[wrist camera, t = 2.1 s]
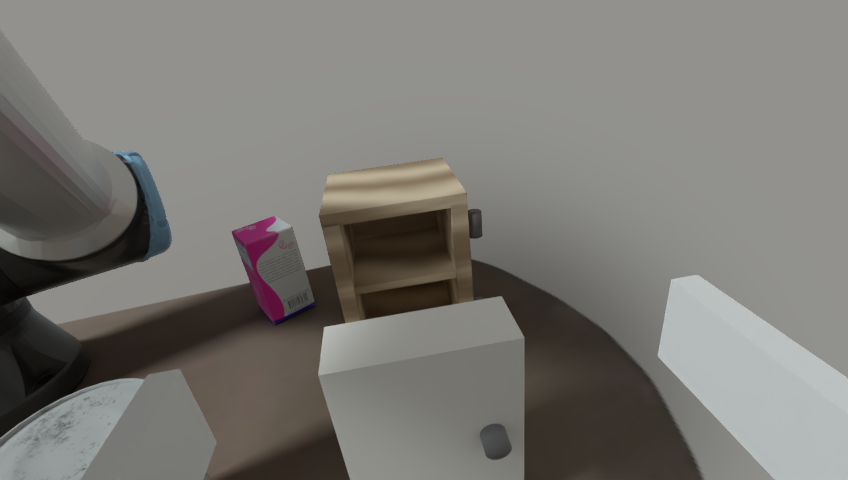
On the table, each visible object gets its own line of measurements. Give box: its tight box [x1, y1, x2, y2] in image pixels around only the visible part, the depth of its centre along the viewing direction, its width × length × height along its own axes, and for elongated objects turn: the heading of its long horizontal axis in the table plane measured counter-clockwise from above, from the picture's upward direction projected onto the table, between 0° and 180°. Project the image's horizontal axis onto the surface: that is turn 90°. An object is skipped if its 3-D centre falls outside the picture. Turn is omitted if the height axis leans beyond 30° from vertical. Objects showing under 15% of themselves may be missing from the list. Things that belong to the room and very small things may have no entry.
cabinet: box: [319, 158, 485, 323], centre depth 41 cm, size 21×14×17 cm
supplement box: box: [232, 216, 315, 325], centre depth 51 cm, size 6×6×12 cm
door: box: [318, 296, 525, 480], centre depth 26 cm, size 5×11×15 cm, turn 98°
